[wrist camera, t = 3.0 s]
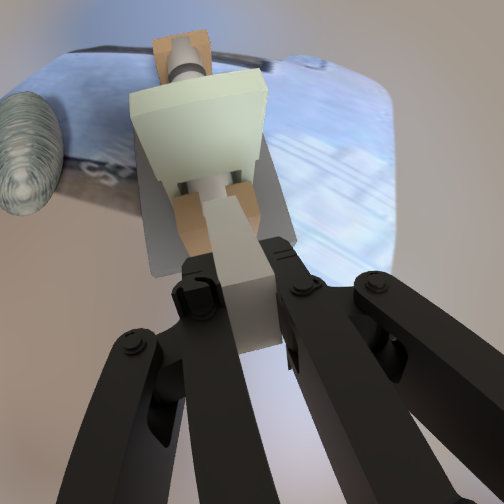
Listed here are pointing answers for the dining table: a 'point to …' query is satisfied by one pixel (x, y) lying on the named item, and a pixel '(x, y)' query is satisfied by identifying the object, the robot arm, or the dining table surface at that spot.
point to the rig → (203, 189)
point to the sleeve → (201, 127)
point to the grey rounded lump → (28, 153)
